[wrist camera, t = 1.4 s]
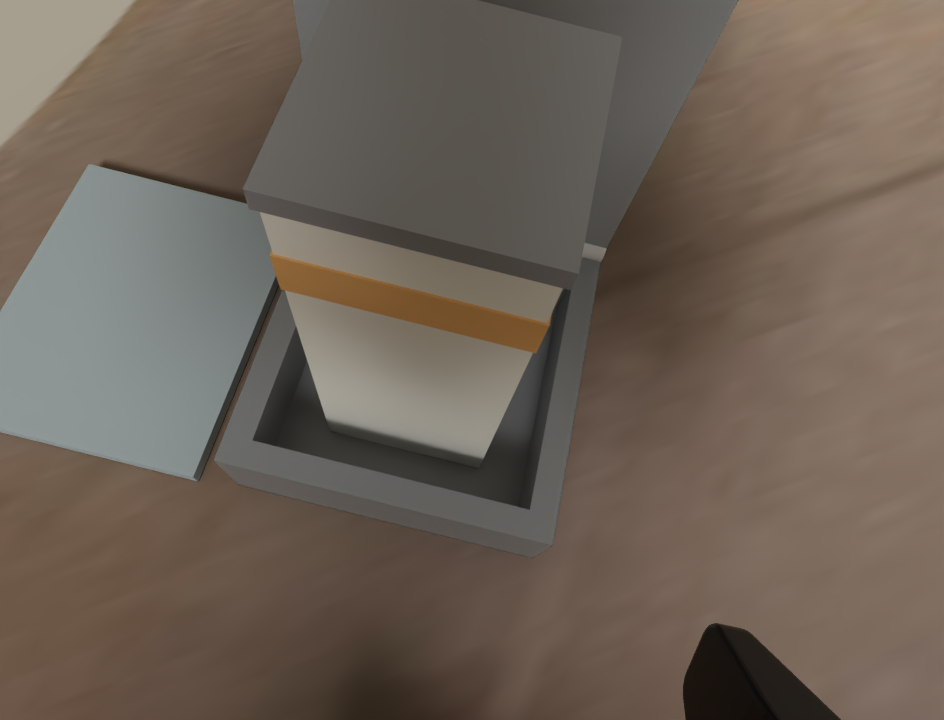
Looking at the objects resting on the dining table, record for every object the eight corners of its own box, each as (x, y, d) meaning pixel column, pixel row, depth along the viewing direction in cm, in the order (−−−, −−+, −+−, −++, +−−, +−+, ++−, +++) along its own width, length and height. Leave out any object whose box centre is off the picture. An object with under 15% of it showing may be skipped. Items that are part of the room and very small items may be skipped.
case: (532, 558, 21) (713, 445, 9) (237, 484, 21) (21, 272, 9) (581, 283, 25) (749, -43, 13) (337, 221, 25) (283, -162, 13)
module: (481, 472, 21) (579, 274, 10) (325, 433, 21) (242, 188, 10) (512, 332, 23) (622, 36, 12) (371, 297, 23) (345, -34, 12)
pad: (198, 481, 21) (193, 477, 20) (-50, 419, 21) (-62, 413, 20) (302, 226, 25) (300, 217, 24) (95, 174, 25) (89, 163, 24)
